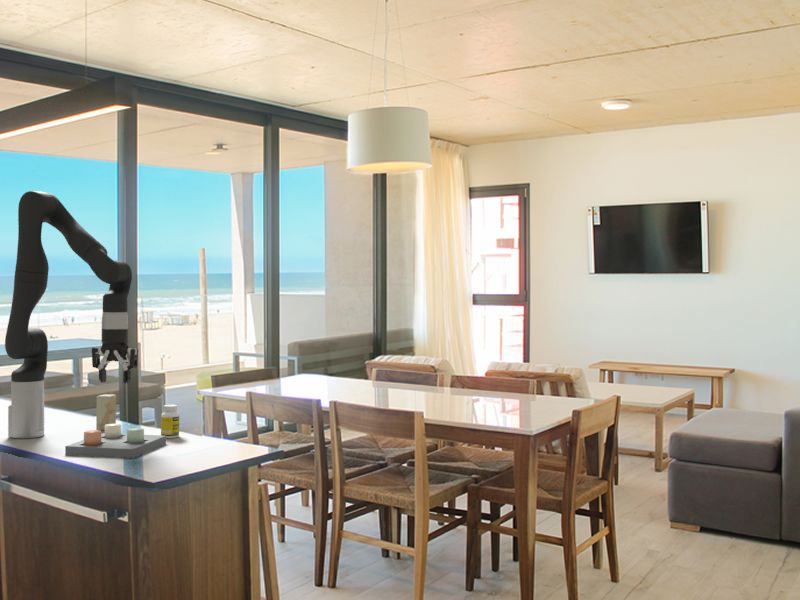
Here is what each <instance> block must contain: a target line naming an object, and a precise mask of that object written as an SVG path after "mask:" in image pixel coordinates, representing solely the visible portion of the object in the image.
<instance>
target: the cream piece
mask: <svg viewBox="0 0 800 600" xmlns="http://www.w3.org/2000/svg"><path fill="white" fill-rule="evenodd" d="M104 433H105V438H114V439H117V438H120V437H121V434H122V424H121V423H116V424H106V425H105V430H104Z"/></svg>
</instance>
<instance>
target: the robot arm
mask: <svg viewBox="0 0 800 600" xmlns="http://www.w3.org/2000/svg"><path fill="white" fill-rule="evenodd" d="M17 208H18V213H17V214H18V215H17V218H18V219H17V221H18V222H17V225H18V227H17V228H18V231H17V232H18V235H17V236H18V237H17V239H18V240H17V251H16V252H17V253H16V262H15V263H16V264H15V269H14V270H15V271H14V280H13V293H12V301H11V309H10V314H9V319H8V323H7V328H6V333H5V339H4V349H5V352H6V354H7V356H8V357H9V358H10V359H13V360H24V361H23V363H22V364H21V365H20V366H19V367H18V368H16V369H15V370H13V371H12V372H11V374H10V375H11V376H10V383H11V385H10V388H11V389H10V390H11V391H10V392H11V394H10V395H11V400H10V401H11V403H10V404H11V405H8V407H7V410H8V411H7V414H8V415H7V417H8V418H7V419H8V421H7V423H8V424H7V426H8V427H7V428H8V429H7V431H8V433H7V437H8V438H12V439H34V438H40V437H43V436H45V374H46V371H47V368H48V353H49V352H48V349H49V348H48V346H49V345H48V337H47V335H46V333H45V331H44V330H42V329H41V328H38V327H37V328H36V327H31V328H30V327H29V324H30V320H31V315H32V313H33V311H34V309H35V308H36V306H37V305H38V303H39V302H40V301H41V300H42V299H41V298H42V297H43V295H44V294H45V292H46V290H47V287H48V281H49V269H50V268H49V267H50V266H49V261H48V259H47V255H46V253H45V248H44V246H43V241H42V229H43V223H47V224H48V225H50V226H52V227H53V228H54V229H56V230H57V231H59V233H61V234H62V235H63V237H64V239H65V241H66V243H67V244H68V246H69V248H70V249H71V250H72V251H73V252H74V254H75V255H77V256H78V257H79V258H80V259H81V260H82V261H83V262H85V263H86V264H87V265H88V266H89V268H90V269H91V271H92V272H93V273H94V275H95V276H96V277H97V278H98V279H99V280H100V281H102V282H103V283H105V284H107V285H109V287H108V291H107V292H106V293H104V295H103V296H102V315H101V344H102V345H101V346H100V347H99V346H98V347H92V348H91V361H92V362H91V363H92V368H96V369H98V380H99V381H100V383H106V382H107V366H108V365H109V364H110V363H111V362H118V363H119V364H120V365H121V366H122V368H123V371H122V372H123V374H122V375H123V378H122V379H123V384H129V383H130V381H131V380H132V378H131V377H132V376H131V373H132V372H131V371H132V370H133V369H136V368H138V360H139V359H138V358H139V349H138V348H136V347H134V348H129V346H128V345H129V317H128V316H129V315H128V297H129V293H130V289H131V284H132V279H133V273H132V269H131V266H130V265H129V263H128V262H126V261H124V260H123V261H122V260H113V259H112V258H111V257H110V256H109V255H108V250H107V249H106V247H105V246H103V244H102V243H100V241H98V240H97V239H96V238H95V237H94V236H93V235H91V234H90V233H89V232H88V231H87V229H85V228H84V227H83V226H81V224H80V223H79V222H78V221H77V220H76V219H75V218H74V217H73V215H71V213H70V212H69V210H68V209H66V207H65V205H64V204H63V203H62V202H61V201H60V199H59V198H57V197H56V195H54V194H52V193H51V192H45V191H39V190H38V191H37V190H29V191H26V192H24V193H23V194H22V196H21V197H20V199H19V201H18V207H17ZM101 354H102V355H103V356H102V358H101ZM127 355H129V358H128V356H127Z"/></svg>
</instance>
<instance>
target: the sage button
mask: <svg viewBox="0 0 800 600" xmlns="http://www.w3.org/2000/svg"><path fill="white" fill-rule="evenodd" d="M126 434H127V443H134V444H140V443H143V442H144V435H145V429H144V428H140V427H134V428H128V429H126Z"/></svg>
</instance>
